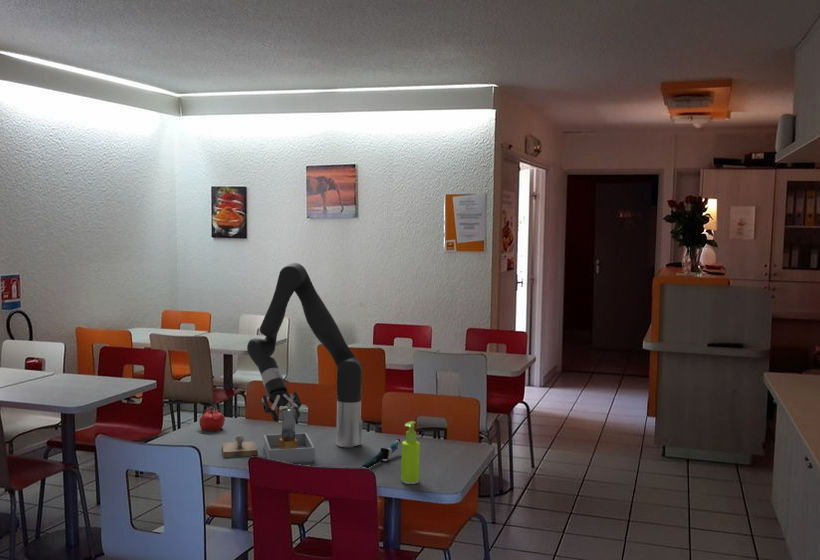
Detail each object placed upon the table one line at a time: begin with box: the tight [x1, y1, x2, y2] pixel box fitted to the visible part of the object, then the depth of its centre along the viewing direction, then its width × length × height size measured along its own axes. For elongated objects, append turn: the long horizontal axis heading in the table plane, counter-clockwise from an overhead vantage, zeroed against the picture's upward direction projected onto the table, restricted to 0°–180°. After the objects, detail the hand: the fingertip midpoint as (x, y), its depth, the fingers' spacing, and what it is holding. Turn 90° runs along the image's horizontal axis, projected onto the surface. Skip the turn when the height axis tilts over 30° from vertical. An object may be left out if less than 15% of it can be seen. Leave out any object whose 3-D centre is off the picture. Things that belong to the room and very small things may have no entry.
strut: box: [279, 407, 298, 449], centre depth 281 cm, size 5×5×16 cm
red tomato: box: [199, 406, 226, 432], centre depth 314 cm, size 10×10×9 cm
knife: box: [361, 438, 402, 468], centre depth 273 cm, size 31×3×4 cm, turn 150°
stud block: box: [221, 434, 259, 458], centre depth 283 cm, size 12×12×6 cm
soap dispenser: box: [400, 420, 421, 482], centre depth 253 cm, size 6×7×20 cm
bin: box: [263, 432, 316, 464], centre depth 281 cm, size 16×21×5 cm
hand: (287, 419), depth 281 cm, fingers open, 8 cm apart
